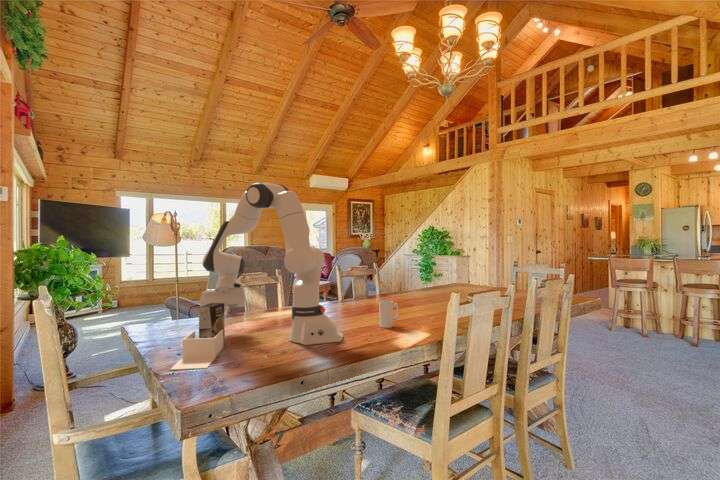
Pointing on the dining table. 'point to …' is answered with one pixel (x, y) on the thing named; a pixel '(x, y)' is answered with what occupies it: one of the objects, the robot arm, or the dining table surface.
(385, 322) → the mug
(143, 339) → the dining table surface
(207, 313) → the coffee box
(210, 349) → the box
